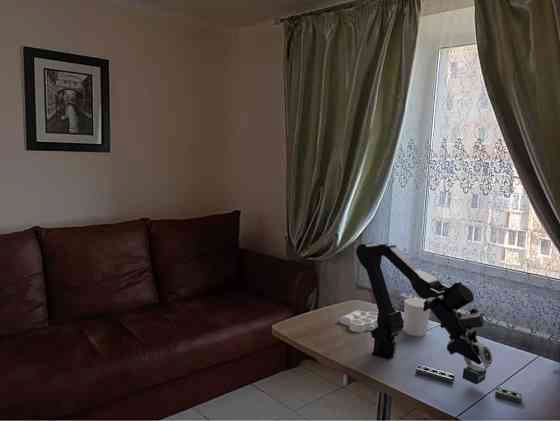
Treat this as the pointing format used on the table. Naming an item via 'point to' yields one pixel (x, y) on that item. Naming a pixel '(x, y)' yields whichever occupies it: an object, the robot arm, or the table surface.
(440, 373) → the perforated metal strips
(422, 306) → the candle holder
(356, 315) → the white lumpy slab
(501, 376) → the table surface
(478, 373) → the watch
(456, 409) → the table surface
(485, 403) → the table surface
